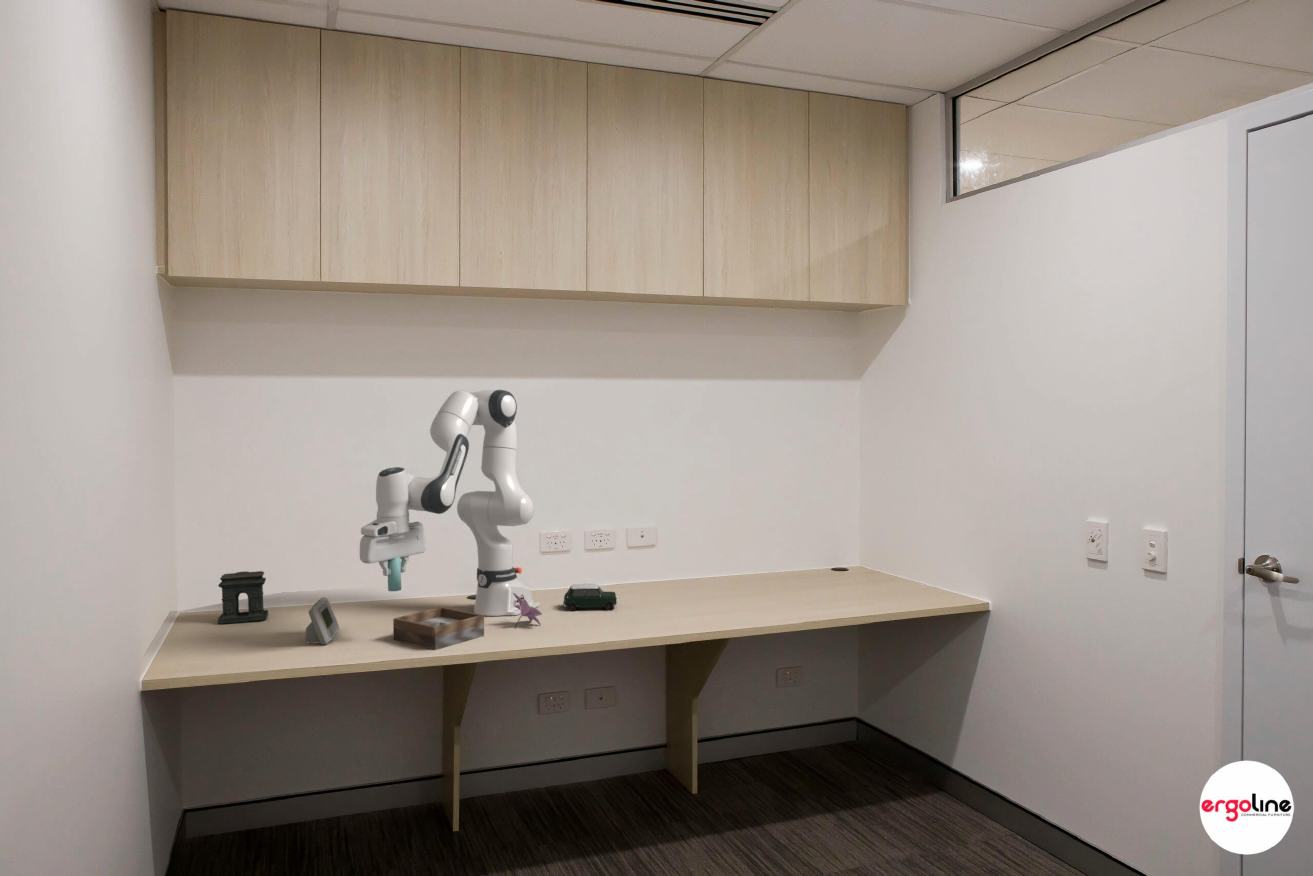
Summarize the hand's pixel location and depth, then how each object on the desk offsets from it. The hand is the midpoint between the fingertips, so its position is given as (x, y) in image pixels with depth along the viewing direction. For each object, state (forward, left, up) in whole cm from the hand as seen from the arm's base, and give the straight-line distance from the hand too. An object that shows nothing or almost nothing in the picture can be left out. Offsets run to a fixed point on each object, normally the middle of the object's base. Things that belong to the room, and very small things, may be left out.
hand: (394, 573), depth 246 cm
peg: (0, 0, -5) cm, 5 cm away
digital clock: (+11, -18, -19) cm, 28 cm away
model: (+13, -57, -19) cm, 61 cm away
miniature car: (-63, +20, -20) cm, 69 cm away
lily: (-34, +19, -19) cm, 43 cm away
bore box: (-9, +8, -19) cm, 23 cm away
